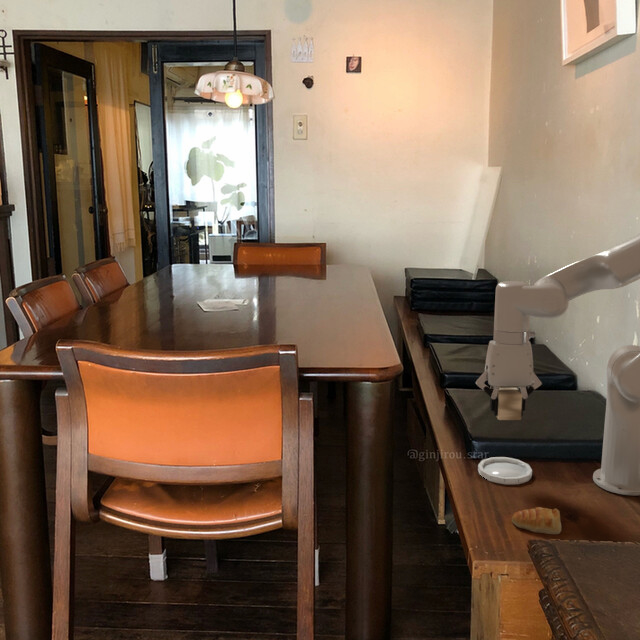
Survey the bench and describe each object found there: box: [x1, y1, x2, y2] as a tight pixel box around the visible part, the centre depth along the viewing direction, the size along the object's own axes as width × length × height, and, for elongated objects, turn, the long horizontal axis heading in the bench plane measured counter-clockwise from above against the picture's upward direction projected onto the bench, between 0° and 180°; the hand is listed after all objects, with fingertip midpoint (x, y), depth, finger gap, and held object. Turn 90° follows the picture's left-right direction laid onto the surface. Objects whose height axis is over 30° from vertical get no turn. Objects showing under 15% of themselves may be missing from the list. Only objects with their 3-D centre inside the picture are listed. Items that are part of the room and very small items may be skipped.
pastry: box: [511, 506, 562, 535], centre depth 138 cm, size 9×7×4 cm
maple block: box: [495, 387, 522, 421], centre depth 158 cm, size 5×5×6 cm
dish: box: [477, 456, 533, 486], centre depth 161 cm, size 12×12×1 cm
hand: (507, 413), depth 158 cm, fingers closed on maple block, 5 cm apart
